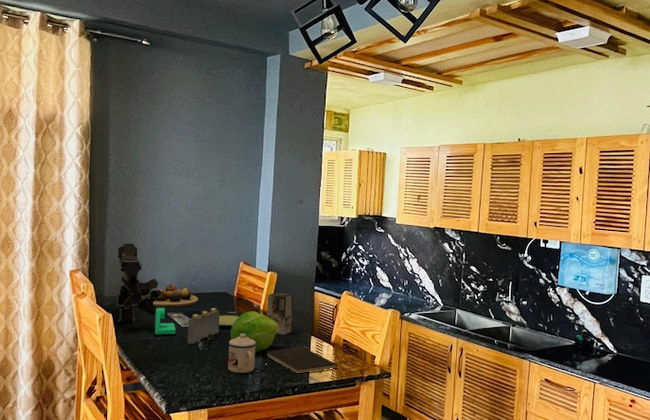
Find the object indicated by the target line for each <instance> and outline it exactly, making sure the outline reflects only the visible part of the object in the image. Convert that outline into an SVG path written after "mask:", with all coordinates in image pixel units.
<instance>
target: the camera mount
mask: <svg viewBox="0 0 650 420" xmlns="http://www.w3.org/2000/svg"><path fill="white" fill-rule="evenodd" d="M165 309H166V308H164V307H155V312H156V314H155V315H154V317H155V320H154V334H155V335H174V334H176V329H177V328H176V326H175V323H173V322H168V323H167V322H165V323H164V322H162V323H161V320H163V319H165V313H166V312H165V311H166V310H165Z"/></svg>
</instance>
